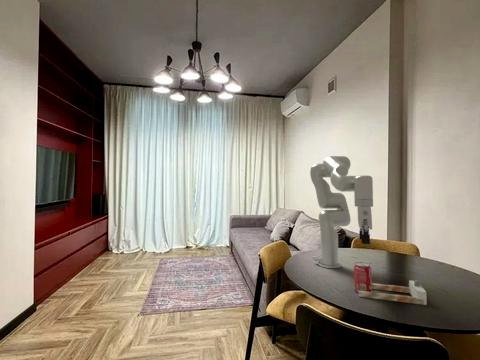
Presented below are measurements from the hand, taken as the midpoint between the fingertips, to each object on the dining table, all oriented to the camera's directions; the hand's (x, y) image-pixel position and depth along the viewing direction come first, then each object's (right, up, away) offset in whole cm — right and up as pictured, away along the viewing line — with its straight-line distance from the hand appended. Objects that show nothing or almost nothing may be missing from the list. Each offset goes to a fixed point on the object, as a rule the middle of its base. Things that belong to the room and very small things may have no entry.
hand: (364, 241), depth 118 cm
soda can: (-2, -22, -2) cm, 22 cm away
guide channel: (+7, -21, -6) cm, 23 cm away
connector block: (+17, -21, -9) cm, 29 cm away
